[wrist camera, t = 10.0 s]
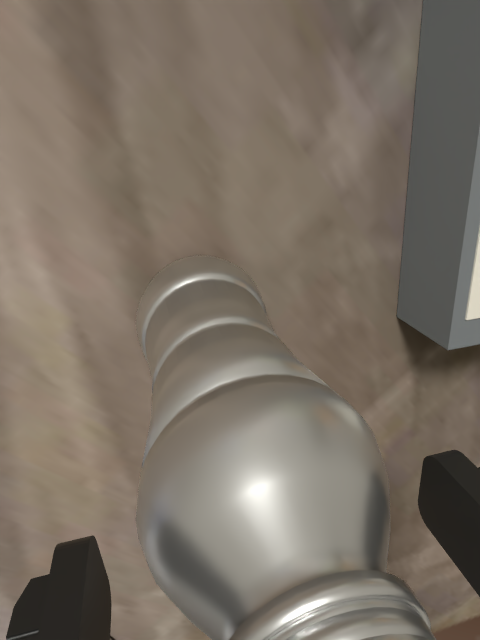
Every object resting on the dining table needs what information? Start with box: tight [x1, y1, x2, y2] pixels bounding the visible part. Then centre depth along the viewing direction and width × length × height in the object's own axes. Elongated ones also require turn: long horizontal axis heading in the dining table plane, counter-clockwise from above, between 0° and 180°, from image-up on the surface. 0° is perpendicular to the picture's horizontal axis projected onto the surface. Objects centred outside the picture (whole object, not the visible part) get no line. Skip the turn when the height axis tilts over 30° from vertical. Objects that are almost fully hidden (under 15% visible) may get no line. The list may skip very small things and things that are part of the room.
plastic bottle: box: [136, 255, 436, 640], centre depth 15 cm, size 6×7×20 cm
